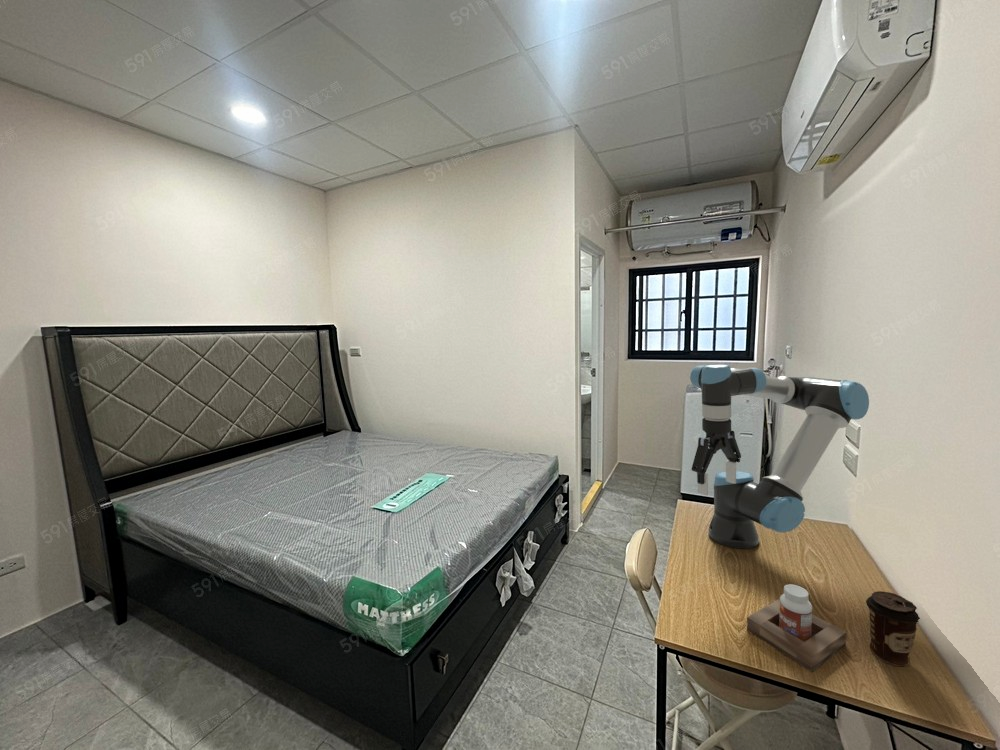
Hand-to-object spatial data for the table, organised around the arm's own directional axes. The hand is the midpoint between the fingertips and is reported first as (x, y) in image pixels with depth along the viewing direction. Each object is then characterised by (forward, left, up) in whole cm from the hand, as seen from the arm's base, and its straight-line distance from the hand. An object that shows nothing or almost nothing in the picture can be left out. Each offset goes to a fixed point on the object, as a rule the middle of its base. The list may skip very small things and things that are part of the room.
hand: (717, 488), depth 121 cm
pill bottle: (+9, +26, -25) cm, 38 cm away
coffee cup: (-3, +39, -26) cm, 47 cm away
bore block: (+9, +26, -26) cm, 38 cm away
